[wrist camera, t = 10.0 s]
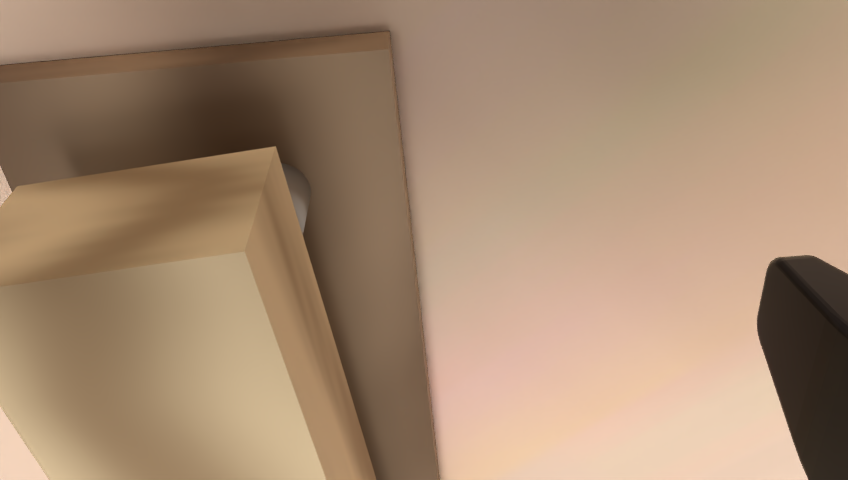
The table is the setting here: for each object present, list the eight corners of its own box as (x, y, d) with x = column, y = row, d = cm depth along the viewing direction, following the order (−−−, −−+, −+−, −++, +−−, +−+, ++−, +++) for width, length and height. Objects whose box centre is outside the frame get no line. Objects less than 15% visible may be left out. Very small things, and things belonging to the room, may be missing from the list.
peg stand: (389, 31, 19) (386, 84, 16) (444, 516, 30) (447, 596, 27) (-13, 66, 19) (-79, 123, 17) (184, 534, 30) (162, 614, 28)
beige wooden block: (275, 146, 17) (244, 251, 14) (403, 567, 26) (402, 692, 23) (17, 186, 18) (-73, 297, 14) (229, 587, 27) (203, 711, 23)
